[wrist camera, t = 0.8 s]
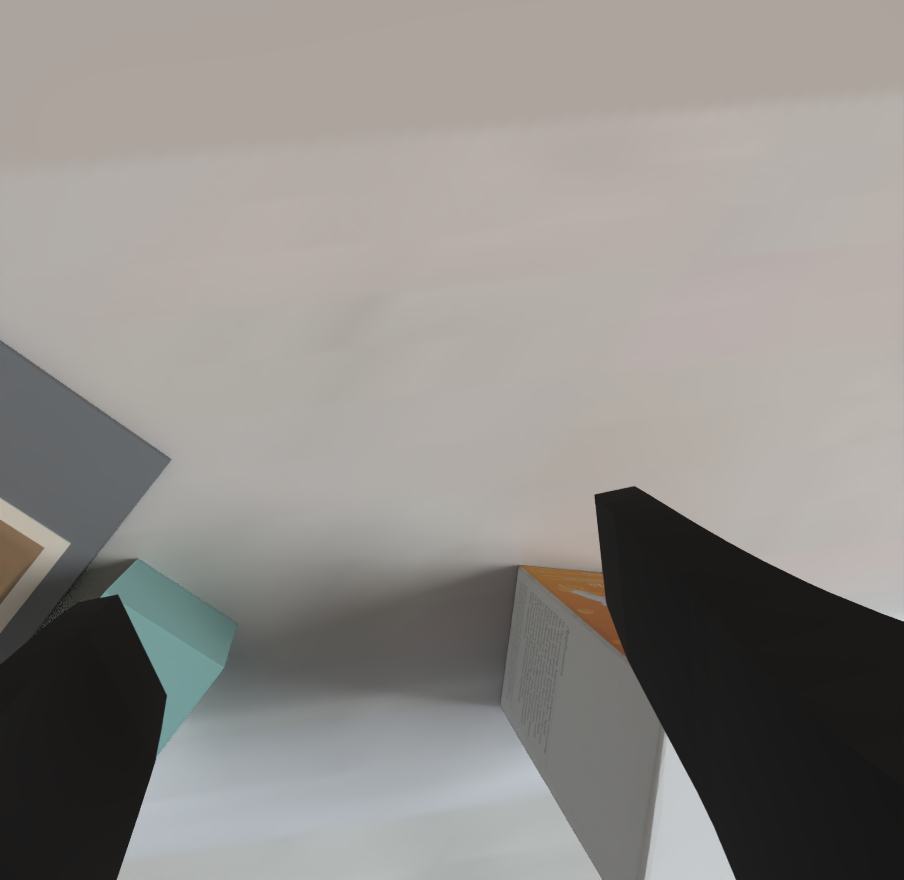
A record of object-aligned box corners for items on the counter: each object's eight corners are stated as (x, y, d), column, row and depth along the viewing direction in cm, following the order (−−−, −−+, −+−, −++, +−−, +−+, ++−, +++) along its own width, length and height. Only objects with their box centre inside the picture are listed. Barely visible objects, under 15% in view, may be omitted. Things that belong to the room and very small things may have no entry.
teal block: (165, 717, 27) (138, 780, 23) (62, 654, 26) (14, 708, 22) (237, 622, 28) (224, 667, 23) (138, 557, 27) (104, 591, 22)
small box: (688, 574, 31) (949, 704, 18) (668, 713, 32) (911, 935, 19) (514, 560, 30) (668, 692, 17) (494, 707, 30) (631, 946, 17)
